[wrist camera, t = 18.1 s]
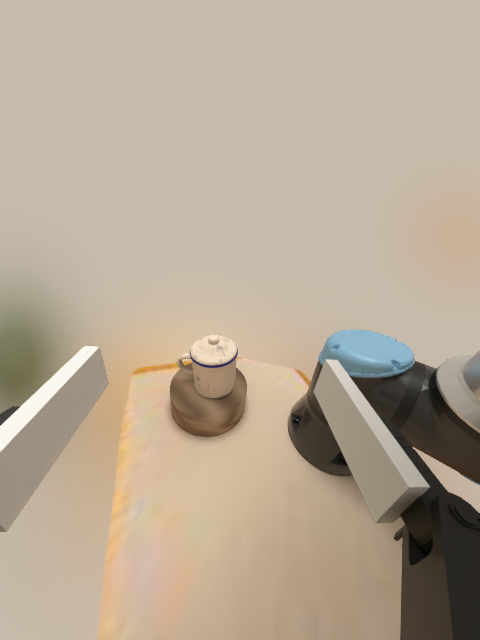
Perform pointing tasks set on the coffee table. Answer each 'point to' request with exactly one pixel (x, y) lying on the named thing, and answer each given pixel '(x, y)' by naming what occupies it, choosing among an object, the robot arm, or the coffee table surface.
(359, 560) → the coffee table surface
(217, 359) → the teacup with lid
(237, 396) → the walnut riser
